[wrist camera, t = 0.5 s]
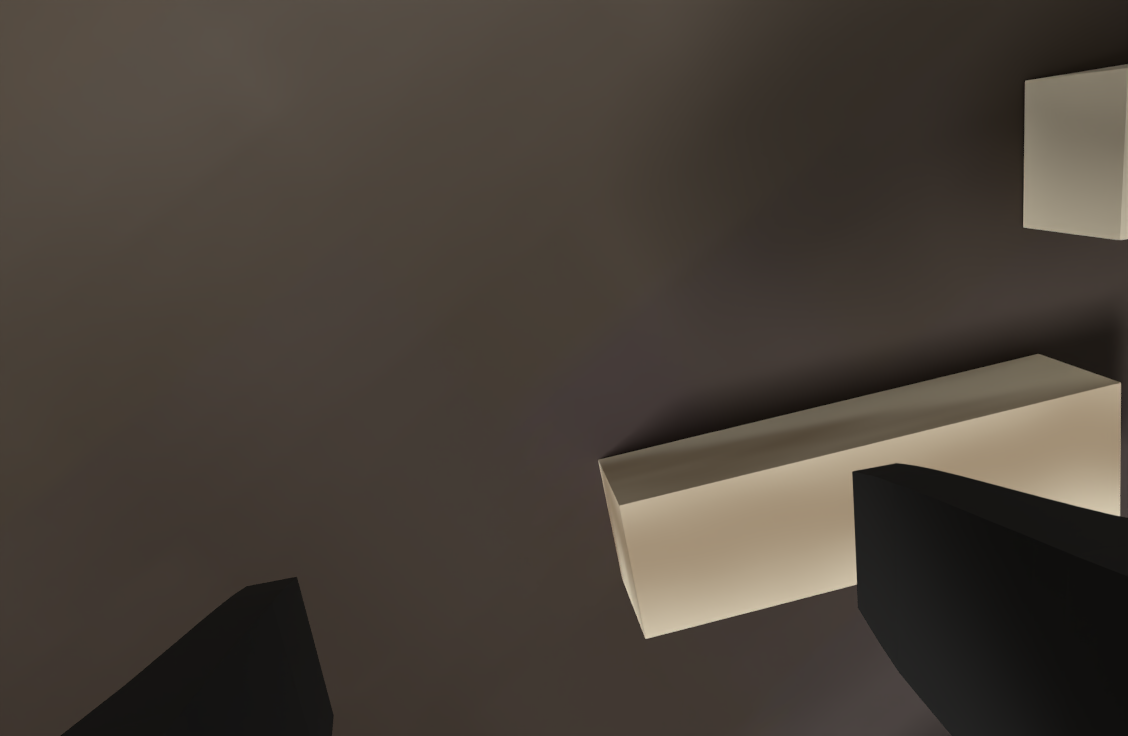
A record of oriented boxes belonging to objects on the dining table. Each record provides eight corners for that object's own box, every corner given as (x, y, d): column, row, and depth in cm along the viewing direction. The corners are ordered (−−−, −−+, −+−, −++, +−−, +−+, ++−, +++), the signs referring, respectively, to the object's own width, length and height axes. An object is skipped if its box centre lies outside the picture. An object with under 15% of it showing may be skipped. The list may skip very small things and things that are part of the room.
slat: (1033, 468, 22) (1120, 516, 19) (620, 572, 21) (645, 639, 18) (1030, 350, 21) (1120, 382, 18) (596, 455, 20) (619, 505, 17)
